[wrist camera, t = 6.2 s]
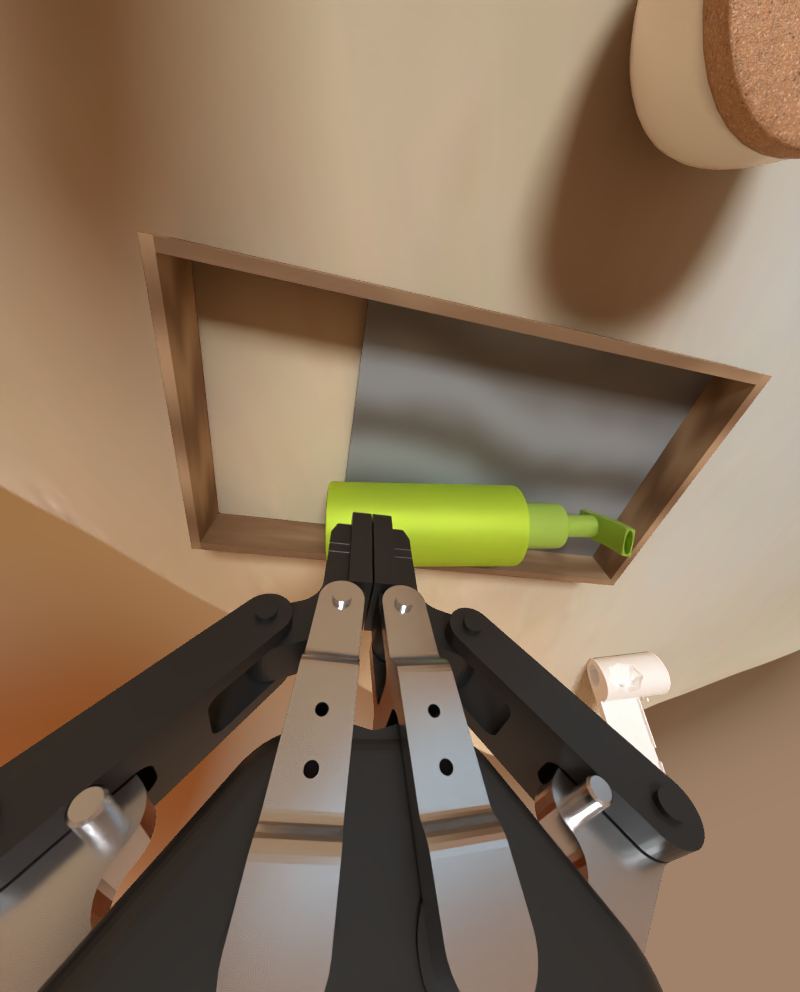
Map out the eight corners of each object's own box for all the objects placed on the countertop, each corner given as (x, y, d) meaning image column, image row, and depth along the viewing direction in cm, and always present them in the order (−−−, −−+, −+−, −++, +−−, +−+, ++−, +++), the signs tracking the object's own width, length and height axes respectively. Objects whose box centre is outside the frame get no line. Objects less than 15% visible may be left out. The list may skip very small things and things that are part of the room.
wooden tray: (176, 238, 17) (137, 231, 14) (720, 363, 23) (771, 376, 20) (210, 518, 27) (191, 548, 24) (591, 557, 33) (613, 585, 30)
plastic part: (650, 645, 43) (733, 755, 33) (626, 687, 48) (692, 792, 38) (591, 653, 42) (657, 765, 33) (574, 694, 48) (627, 801, 38)
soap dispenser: (322, 493, 19) (648, 499, 21) (333, 475, 26) (580, 481, 28) (323, 589, 20) (632, 586, 22) (334, 548, 27) (570, 549, 29)
